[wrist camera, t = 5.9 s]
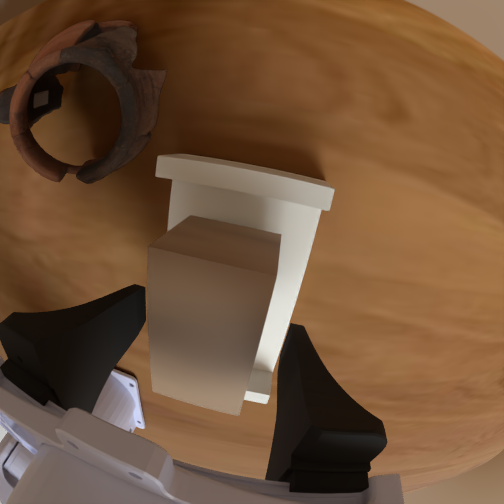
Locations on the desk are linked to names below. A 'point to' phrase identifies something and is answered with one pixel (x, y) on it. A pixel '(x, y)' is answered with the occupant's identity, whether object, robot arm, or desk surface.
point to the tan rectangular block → (208, 309)
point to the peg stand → (259, 217)
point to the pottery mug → (50, 92)
